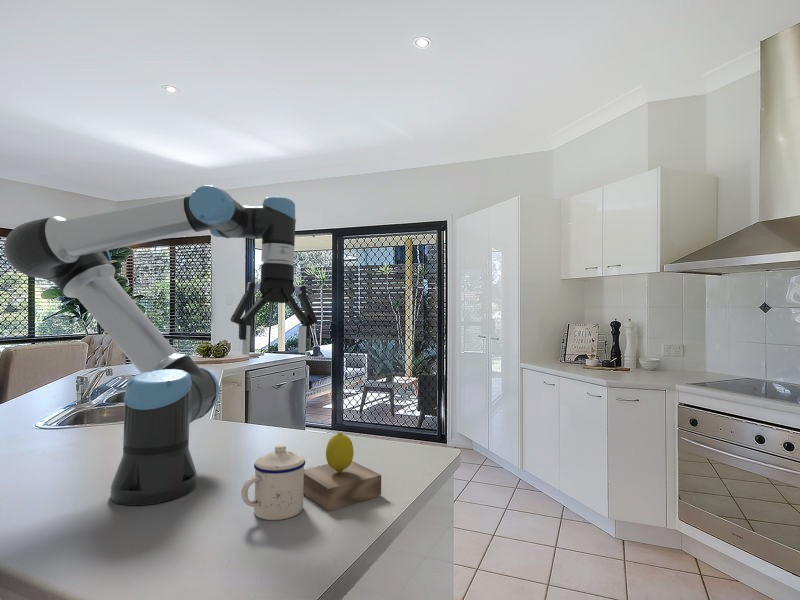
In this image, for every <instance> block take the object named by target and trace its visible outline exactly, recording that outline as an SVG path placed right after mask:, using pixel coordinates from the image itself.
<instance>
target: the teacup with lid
mask: <svg viewBox="0 0 800 600" xmlns="http://www.w3.org/2000/svg"><path fill="white" fill-rule="evenodd" d="M305 465H306V459H305V458H304V456H303V455H301V454H299V453H297V452H296V453H295V452H293V451H292V450H289V449H287V446H286V445H284V444H277V445H275V446H274V450H272V451H270V452H268V453H266V454H263V455H262V456H259V457H258V458H257V459H256V460H255V461H254V463H253V468H254V476H253V477H250V478H248V479H247V480H245V482H244V483H243V485H242V487H241V492H240V493H241V499H242V501H243V503H244V504H245V505H246V506H249V507H251V508H253V513H254V515H255V516H257V517H258V518H260V519H262V520H265V519H266V521H281V520H287V519H291V518H292V517H295V516H297V515H298V514H300V513H301V512H302V510H303V508H304V494H303V487H304V469H305ZM253 484H254V500H252V501H250V499H249V496H248V495H249V494H248V492H249V488H250V487H251V486H252V485H253Z"/></svg>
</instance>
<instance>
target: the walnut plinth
mask: <svg viewBox="0 0 800 600" xmlns="http://www.w3.org/2000/svg"><path fill="white" fill-rule="evenodd" d="M303 496H306V497H307V498H309V499H310V500H312V501H313V502H314V503H316V504H317V505H319V506H320V507H322V508H324V509H325V510H326V511H327V512H329V511H333V510H336V509H337V510H338V509H340V508H343V507H347V506H350V505H353V504H357V503H359V502H363V501H367V500H371V499H374V498H377V497H380V496H382V474H380V473H378V472H376V471H374V470H372V469H370V468H368V467H366V466H364V465H361V464H360V463H357V462H356V461H353V460H352V462H351V464H350V465H349V466H348V467H347V468H346V469H344V470H343V471H342V472H341V473H338V472H337V471H336V470H335V469H333V468H331V467H330V466H329V464H328V463H327V464H323V465H317V466H313V467H309V468H304V487H303Z"/></svg>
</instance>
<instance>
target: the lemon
mask: <svg viewBox="0 0 800 600" xmlns="http://www.w3.org/2000/svg"><path fill="white" fill-rule="evenodd" d="M354 452H355V451H354V445H353V441H352V440H351V438H350V437H349V436H348V435H346V434H343V432H338V433H337V434H335V435H333V436H331V438H330V439H329V440H328V443H327V445H326V449H325V458H326V459H325V460H326V462H327V464H329V466H330V467H331V468H333V469H335V470H336V471H337V472H338V473H341V472H342V471H343V470H344V469H346V468H347V467H348V466H349V465H350V464H351V462H352V461H353V459H354Z"/></svg>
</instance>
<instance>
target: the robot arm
mask: <svg viewBox="0 0 800 600" xmlns="http://www.w3.org/2000/svg"><path fill="white" fill-rule="evenodd" d="M296 222H297V219H296V204H295V203H294V201H293V200H292V199H290V198H287V197H285V196H284V197H282V196H267V197H265V198H264V199H263V203H262V205H261V206H259V205H258V206H251V205H250V206H249V205H241V204H240V203H239V202H238V201H236V200H235V199H234V198H233V197H232V196H231V195H230V194H229V193H228V192H227V191H225V190H223V189H221V188H219V187H218V186H214V185H210V184H207V185H206V184H205V185H202V186H199V187H197V188H195V190H194V191H192V193H191V194H190V195H186V196H181V197H175V198H171V199H165V200H160V201H156V202H151V203H145V204H140V205H135V206H134V205H133V206H130V207H124V208H120V209H115V210H110V211H109V210H108V211H103V212H99V213H95V214H94V213H92V214H89V215H84V216H83V215H82V216H77V217H72V218H67V219H66V218H63V217H62V216H50V217H45V218H39V219H34V220H30V221H27V222H24V223H22V224H19V225H17V226H15V228H13V229H12V230H11V231H10V232H9V234H8V235H7V236H6V238H5V240H4V245H3V247H4V249H3V250H4V251H3V252H4V254H5V257H6V259H7V261H8V263H9V264H10V265H11V266H12V268H14V269H15V270H17V271H18V272H19V273H21V274H23V275H25V276H28V277H32V278H36V279H38V278H39V279H45V280H50V281H52V282H53V283H54V285H56V287H57V288H58V289H59V290H60V291H61V293H62V294H63V295H64V296H65V297H67V298H69V299H70V298H71V299H72V298H73V299H77V300H78V301H79V302H80V303H81V304H82V306H83V307H84V308H85V309H86V310H87V312H88V313H89V314H90V315H91V317H93V318H94V320H95V321H96V322H97V324H99V326H100V327H101V328H102V329H103V330H104V331H105V333H106V334H107V335H108V337H109V338H110V339H111V340H112V341H113V342H114V343H115V344H116V346H117V347H118V348H119V349H120V350H121V352H122V353H123V354H124V355H125V356H126V357H127V359H128V360H129V361H130V362H131V363H132V364H133V366H134V367H135V368H136V369H137V371H138V372H139V373H138V374H136V375H133V376H132V377H131V378H130V379H129V380H128V381H127V382H126V386H125V393H124V396H123V403H124V406H123V407H124V412H123V413H124V414H123V438H122V440H123V442H122V445H123V446H122V457H121V459H120V461H119V465H118V466H117V469H116V472H115V475H114V478H113V480H112V482H111V486H110V499H111V501H112V502H114V503H116V504H119V505H123V506H124V505H125V506H146V505H153V504H159V503H164V502H168V501H172V500H175V499H177V498H178V499H179V498H181V497H183V496H185V495H187V494H189V493H191V492H192V491H193V490H194V489H196V487H197V482H198V481H197V479H198V474H197V473H198V472H197V469H196V466H195V463H194V460H193V458H192V453H191V452H190V451H191V450H190V447H189V445H190V444H189V443H190V442H189V440H190V424H191V423H192V422H194V421H197V420H198V419H202V418H203V417H205V415H207V414H208V413H209V412H210V411H211V410H212V409H213V408H214V407H215V405H217V402H218V400H219V398H220V384H219V381H218V379H217V377H216V376H215V374H213V373H212V372H211V371H210V370H208V369H206V368H203V367H199V365H197V363H195V361H194V360H193V359H192V358H191V356H190V355H188V354H186V353H185V354H184V353H179V352H177V351H176V350H175V349H174V347H173V346H172V344H170V342H169V341H168V339H166V338H165V337H164V335H163V334H162V333H161V332H160V330H159V329H158V328H157V327H156V326H155V324H154V323H153V322H152V321H151V320H150V319H149V317H148V316H147V315H146V314H145V313H144V312H143V311H142V309H141V308H140V307H139V306H138V304H137V303H136V302H135V301H134V300H133V299H132V297H131V296H130V295H129V294H128V293H127V291H125V289H124V288H123V286H121V284H120V283H119V282H118V281H117V280H116V278H115V275H116V268H115V266H114V265H113V264H112V263H111V261H112V256H111V253H110V251H111V250H115V249H120V248H126V247H129V246H135V245H139V244H144V243H145V244H146V243H149V242H154V241H158V240H159V241H160V240H164V239H169V238H173V237H177V236H183V235H188V234H192V233H193V234H194V233H197V232H205V231H208V230H209V232H210V234H211V235H212V236H213V237H216V238H225V239H230V238H231V239H232V238H233V239H235V238H236V239H261V255H260V256H261V259H260V261H261V262H262V264H261V265H260V282H259V283H256V282H254V281H250V282H247V283H246V284H245V285H246V286H245V292H244V294H243V296H242V297H241V298H240V300H239V303H238V305H237V306H236V308H235V310H234V312H233V314H232V316H231V317H230V322H231V323H234V324H237V325H238V339H239V340H241V341H242V351H241V352H242V353H241V354H242V355H245V356H249V355H250V353H251V351H250V350H251V325H248V324H249V323H250V322H251V320H252V319H253V318H254V317H255V316H256V315H257V314H258V312H259V311H260V310H261V309H262V308H263V307H264V306H265V305H266V304H267V303H270V304H274V303H277V304H285V305H287V307H288V308H289V309H290V311H292V313H293V314H294V316H295V317H296V318H297V320H298V321H299V322H300V324H301V325H298V335H297V336H298V337H297V339H298V342H297V343H298V345H297V352H298V353H300V354H306V350H307V349H306V348H307V347H306V346H307V340H308V339H310V327H311V326H312V325H313V324H317V322H318V319H317V316H316V314H315V311H314V310H313V307H312V305H311V302H310V300H309V297H308V295H307V288H306V285H303V284H302V285H297V286H296V285H294V275H295V274H294V273H295V266H294V265H292V264H293V263H295V245H296V243H295V241H296V240H295V239H296ZM257 291H259V292H260V293H261V296H260V295H259V296H260V297H258V299H257V300H256V302H255V303H253V305H252V306H251V307H250V308H249V309H248V310H247V311H246V309H247V307H248V306H249V303H250V302H251V300H252V299H253V296H254V294H255V293H257ZM294 292H295V294H296V295H297V297H298V300H299V302H300V305H301V308H302V309H301V308H300V306H299V305H298V303H297V301H296V299H294V297H293V294H294ZM245 311H246V312H245ZM303 311H304V312H303ZM244 312H245V314H244ZM243 314H244V315H243Z"/></svg>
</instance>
